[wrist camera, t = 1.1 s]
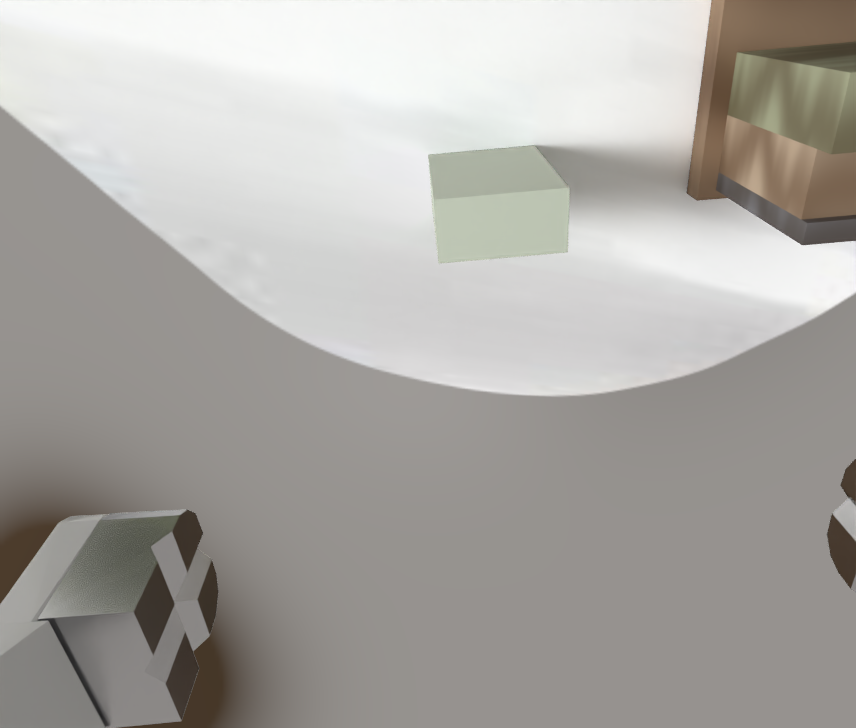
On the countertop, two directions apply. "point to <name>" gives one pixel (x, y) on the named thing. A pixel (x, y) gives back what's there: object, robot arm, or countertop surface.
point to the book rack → (780, 115)
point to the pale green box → (497, 204)
